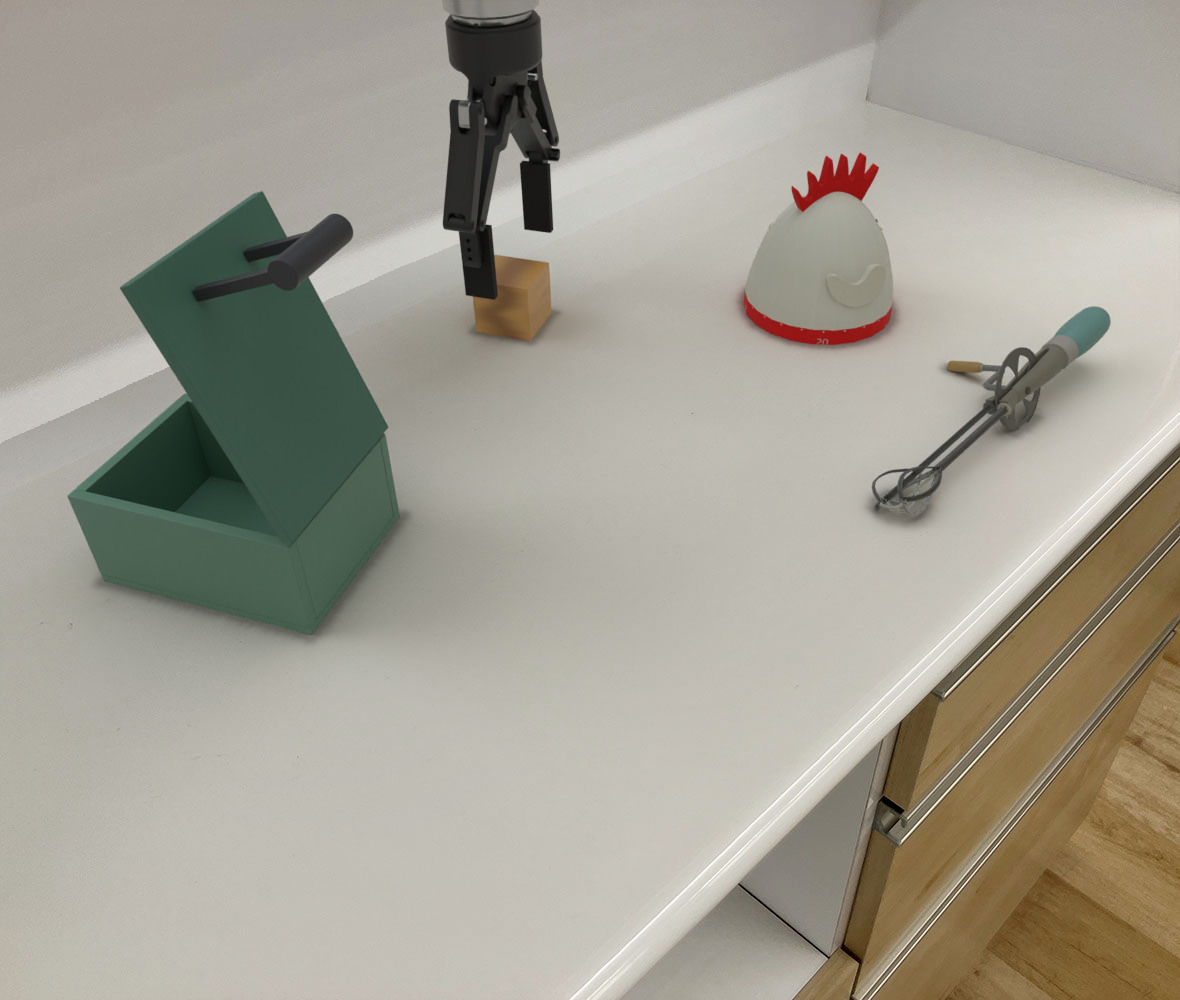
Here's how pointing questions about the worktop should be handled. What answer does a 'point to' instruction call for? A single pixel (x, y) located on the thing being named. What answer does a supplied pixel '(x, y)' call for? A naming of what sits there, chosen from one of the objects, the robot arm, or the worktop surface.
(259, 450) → the lunchbox lid
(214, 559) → the lunchbox
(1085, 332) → the whisk
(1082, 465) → the worktop surface
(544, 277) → the block
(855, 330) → the kitchen timer
